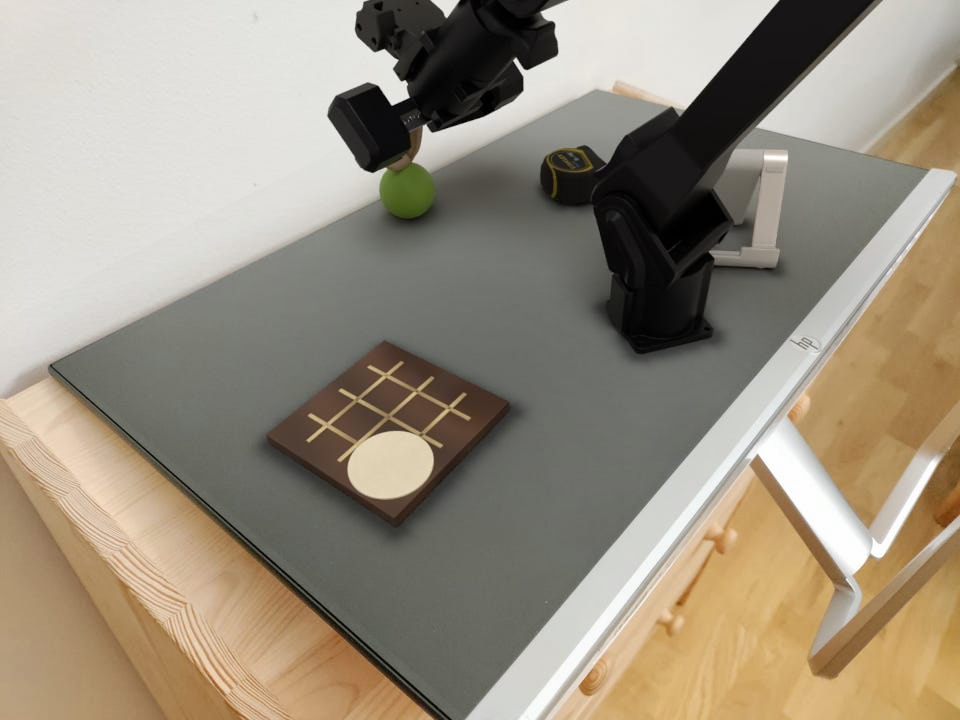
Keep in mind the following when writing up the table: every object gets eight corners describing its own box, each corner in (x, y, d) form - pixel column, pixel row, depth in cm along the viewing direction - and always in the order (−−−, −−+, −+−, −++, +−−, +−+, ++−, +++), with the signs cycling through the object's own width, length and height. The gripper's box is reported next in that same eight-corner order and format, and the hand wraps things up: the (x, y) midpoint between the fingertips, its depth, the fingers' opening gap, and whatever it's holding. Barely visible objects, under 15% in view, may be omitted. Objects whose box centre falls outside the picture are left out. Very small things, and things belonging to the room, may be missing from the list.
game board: (386, 349, 56) (384, 338, 55) (509, 410, 50) (509, 400, 49) (268, 444, 49) (264, 433, 48) (396, 527, 43) (393, 517, 43)
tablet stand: (670, 267, 62) (684, 180, 56) (668, 220, 68) (680, 137, 62) (774, 273, 60) (798, 184, 55) (763, 224, 66) (783, 139, 61)
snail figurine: (453, 204, 72) (442, 86, 64) (416, 234, 68) (400, 112, 60) (410, 192, 75) (395, 77, 67) (372, 220, 71) (351, 102, 63)
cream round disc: (425, 433, 49) (423, 422, 48) (444, 496, 45) (442, 485, 44) (345, 453, 48) (342, 442, 47) (357, 519, 44) (353, 507, 43)
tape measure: (618, 202, 71) (622, 167, 68) (555, 215, 69) (556, 181, 67) (590, 172, 76) (592, 139, 73) (530, 184, 74) (530, 151, 72)
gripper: (495, -70, 59) (417, 43, 72) (316, -15, 49) (264, 105, 62) (568, 47, 60) (479, 137, 73) (408, 124, 50) (338, 212, 63)
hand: (395, 145), depth 68 cm, fingers open, 9 cm apart
